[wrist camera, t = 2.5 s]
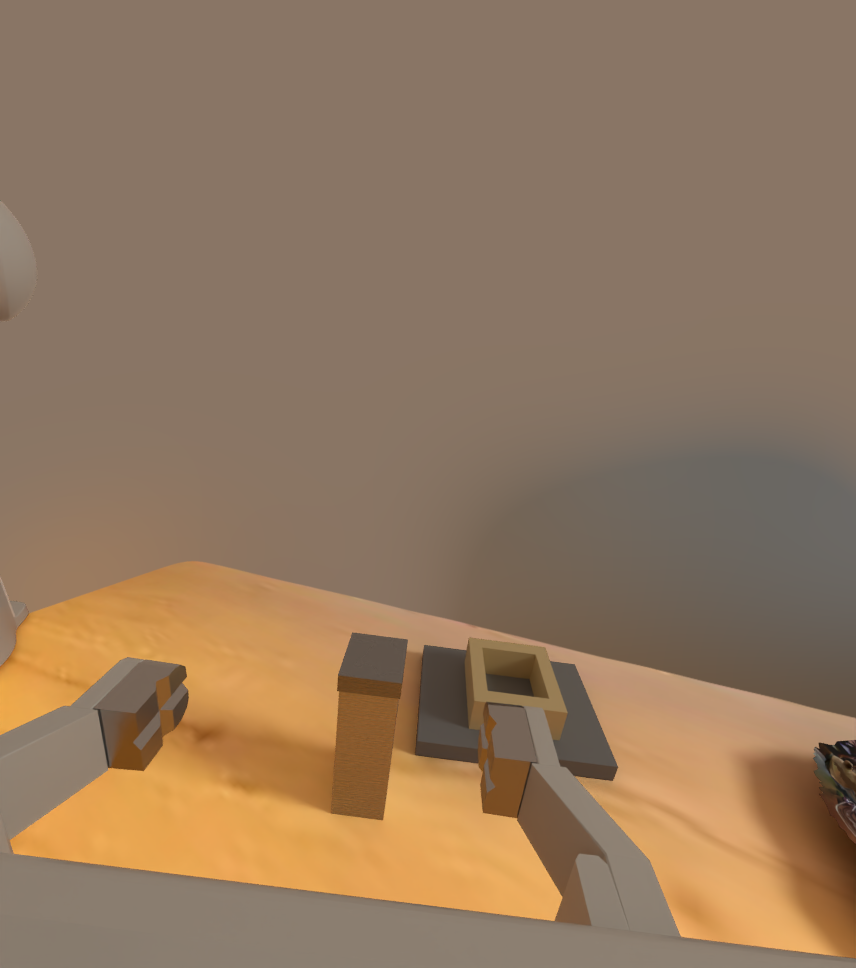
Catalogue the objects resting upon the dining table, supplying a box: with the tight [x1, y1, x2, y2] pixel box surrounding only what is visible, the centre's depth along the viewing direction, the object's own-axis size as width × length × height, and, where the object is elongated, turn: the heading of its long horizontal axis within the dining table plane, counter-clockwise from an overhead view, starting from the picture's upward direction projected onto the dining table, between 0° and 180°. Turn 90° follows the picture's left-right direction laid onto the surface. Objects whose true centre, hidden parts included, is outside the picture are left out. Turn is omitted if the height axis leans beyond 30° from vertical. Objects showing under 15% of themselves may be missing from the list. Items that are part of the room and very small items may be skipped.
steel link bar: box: [331, 633, 408, 820], centre depth 27 cm, size 4×4×12 cm
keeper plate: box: [415, 638, 618, 781], centre depth 36 cm, size 16×11×4 cm
